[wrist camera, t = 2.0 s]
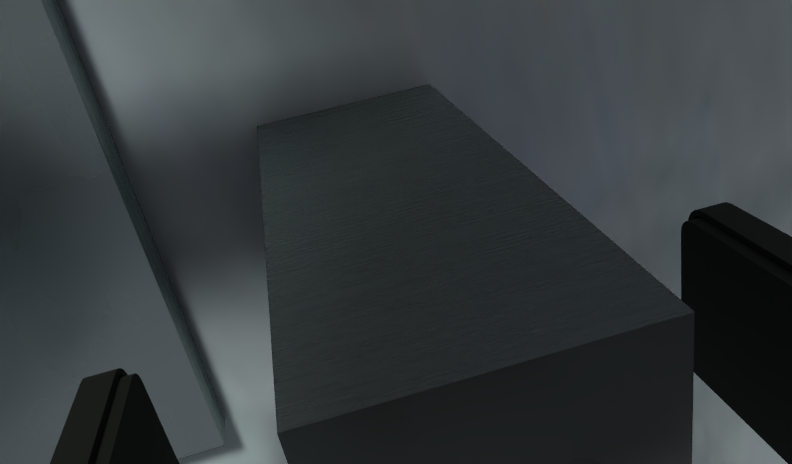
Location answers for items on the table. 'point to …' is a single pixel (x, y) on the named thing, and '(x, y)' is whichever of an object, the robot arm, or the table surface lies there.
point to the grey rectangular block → (455, 303)
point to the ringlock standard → (78, 257)
